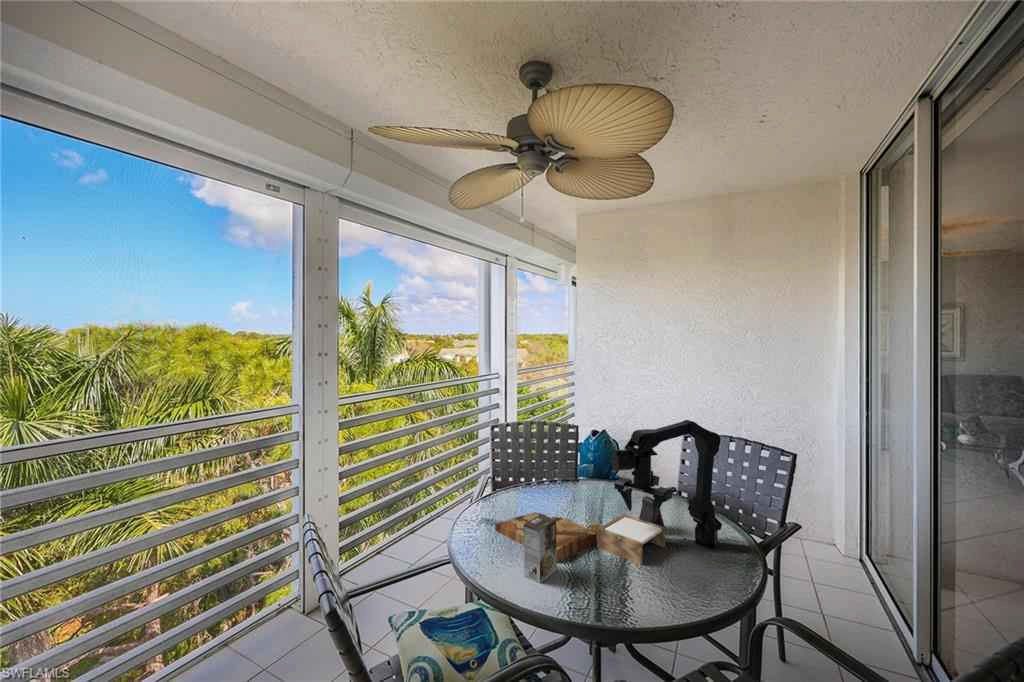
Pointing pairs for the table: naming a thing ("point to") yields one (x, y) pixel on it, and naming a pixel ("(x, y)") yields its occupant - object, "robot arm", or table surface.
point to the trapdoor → (634, 530)
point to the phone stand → (650, 512)
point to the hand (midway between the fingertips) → (642, 514)
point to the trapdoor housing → (626, 541)
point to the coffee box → (540, 548)
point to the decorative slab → (567, 534)
